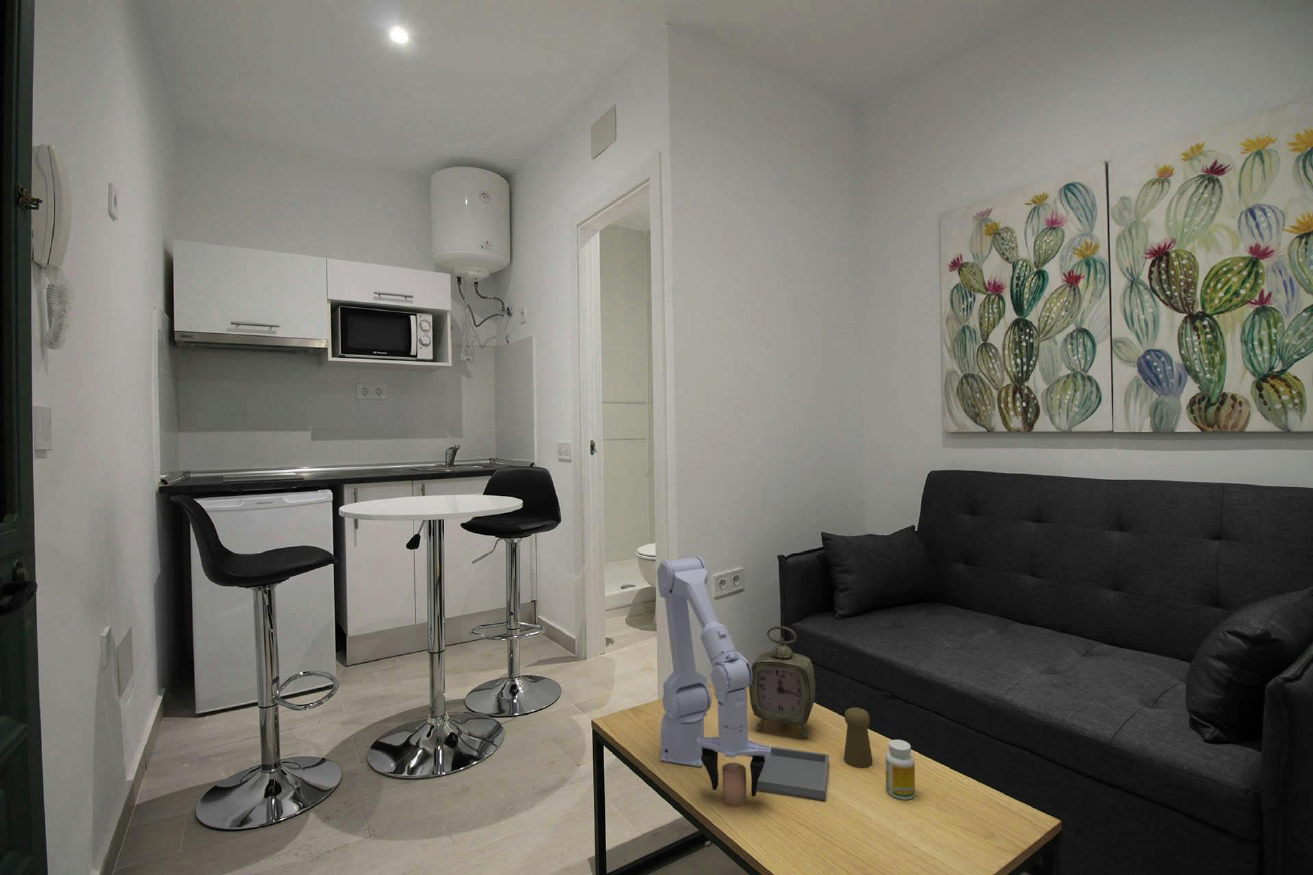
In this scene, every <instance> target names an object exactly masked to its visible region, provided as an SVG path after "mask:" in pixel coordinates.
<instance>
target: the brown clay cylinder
mask: <svg viewBox="0 0 1313 875" xmlns="http://www.w3.org/2000/svg"><path fill="white" fill-rule="evenodd" d="M746 768H747V767H746V766H745V765H743V764H741V763H739V762H727V763H725V764H724V765H723V766H722V768H721V770H722V771H721V774H722V800H723V802H724V804H725V805H728V806H730V807H742V806H744V805H745V804H746V802H747V801H748V800H747V798H748V797H747V769H746Z"/></svg>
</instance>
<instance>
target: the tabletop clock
mask: <svg viewBox="0 0 1313 875" xmlns="http://www.w3.org/2000/svg"><path fill="white" fill-rule="evenodd" d="M773 630H774V631H775V630H784V631H788V632H790V633H791V634H792V635H793V639H792V640H785V639H784V638H783V637H779V638H778V639H779V640H778V639H774V638H772V637H771V636H770V633H771V631H773ZM766 636H767V638H768V640H770V641H771V642H773V643H775V644H776V645H775V646H774V647H773V649H772V650H766V651H763V652H760V653H759V654H758V656H757V657H756V659H755V660H754V662H753V663H752V666H751V670H752V677H753V678H752V684H751V685H750V686H749V688H748V689H749V702H750V706H751V711H752V713H753V714H754V716H755V717H758V718H759V719H761V720H760V722H759V723H757V724H756V727H755V728H756V730H758V731H762V730H763V729H764V725H763V724H764V723H765V721H769V722H772V723H778V724H782V725H783V726H785V727H786V726H788V725H794V726H795V725H797V726H798V725H799V727H800V729H801V733H800V734H801V737H802V738H803V739H807V738H808V737H809V732H808V731H807V730H805V727H804V724H807V723H808V720H809V717H810V715H811V713H812V710H813V707H814V703H815V696H816V678H815V671H814V666H813V663H812V661H811V658H809V657H807V656H805V655H804V654H800V653H799V654H798V653H794V652H793V650H792V649H791V647H790V646H788V645H791V644H793V643H795V641H796V640H797V635H796V632H795V631H793V629H792V628H790V627H788V626H781V625H775V626H773V627H770V628H769V629H768V631H767V633H766Z"/></svg>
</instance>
